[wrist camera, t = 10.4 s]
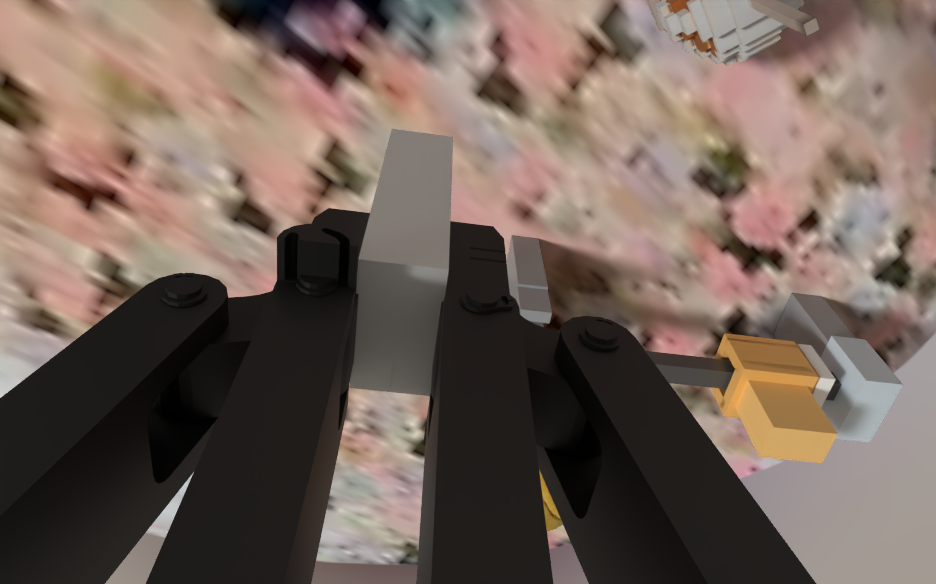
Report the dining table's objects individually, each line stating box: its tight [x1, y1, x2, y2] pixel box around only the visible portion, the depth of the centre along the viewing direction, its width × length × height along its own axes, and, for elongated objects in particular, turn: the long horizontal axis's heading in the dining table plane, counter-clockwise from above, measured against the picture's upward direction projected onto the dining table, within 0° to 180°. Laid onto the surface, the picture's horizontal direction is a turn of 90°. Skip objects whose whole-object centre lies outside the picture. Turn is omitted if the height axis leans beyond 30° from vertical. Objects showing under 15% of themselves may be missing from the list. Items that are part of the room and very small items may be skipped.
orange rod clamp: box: [711, 333, 838, 463], centre depth 46 cm, size 5×4×8 cm
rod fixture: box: [507, 236, 903, 442], centre depth 51 cm, size 25×8×12 cm, turn 82°
